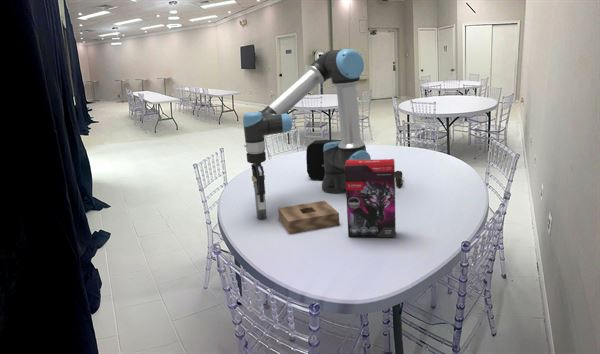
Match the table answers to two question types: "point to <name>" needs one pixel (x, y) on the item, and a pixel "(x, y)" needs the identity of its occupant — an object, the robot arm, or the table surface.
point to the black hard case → (316, 159)
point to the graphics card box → (370, 198)
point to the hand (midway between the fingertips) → (261, 207)
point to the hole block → (308, 216)
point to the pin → (260, 213)
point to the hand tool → (398, 178)
